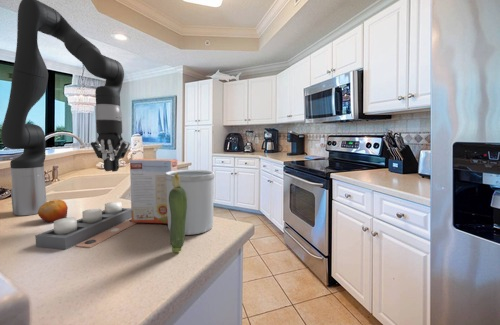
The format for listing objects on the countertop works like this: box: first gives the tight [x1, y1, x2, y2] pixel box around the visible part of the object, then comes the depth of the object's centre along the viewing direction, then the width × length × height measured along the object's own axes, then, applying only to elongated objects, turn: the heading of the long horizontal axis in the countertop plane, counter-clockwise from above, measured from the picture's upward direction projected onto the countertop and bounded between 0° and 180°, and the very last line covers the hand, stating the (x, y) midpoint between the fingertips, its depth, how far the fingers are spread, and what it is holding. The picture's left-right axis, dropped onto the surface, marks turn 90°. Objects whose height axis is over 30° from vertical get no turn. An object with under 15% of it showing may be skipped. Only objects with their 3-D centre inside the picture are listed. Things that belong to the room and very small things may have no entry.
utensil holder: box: [165, 169, 216, 236], centre depth 77 cm, size 15×15×18 cm
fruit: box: [37, 199, 68, 223], centre depth 85 cm, size 8×8×8 cm
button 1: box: [53, 217, 78, 235], centre depth 67 cm, size 5×5×3 cm
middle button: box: [81, 208, 103, 224], centre depth 76 cm, size 5×5×3 cm
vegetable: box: [169, 172, 187, 254], centre depth 61 cm, size 4×4×20 cm
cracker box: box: [129, 158, 179, 225], centre depth 82 cm, size 14×6×21 cm, turn 84°
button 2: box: [104, 201, 123, 214], centre depth 85 cm, size 5×5×3 cm
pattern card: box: [74, 218, 139, 249], centre depth 75 cm, size 4×23×1 cm, turn 170°
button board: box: [34, 207, 132, 250], centre depth 76 cm, size 9×27×3 cm, turn 170°
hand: (111, 170), depth 83 cm, fingers closed
